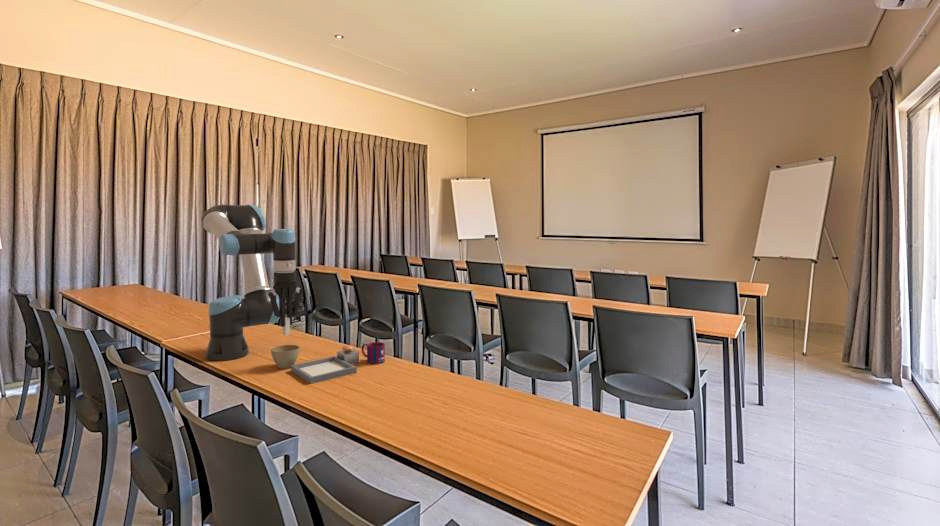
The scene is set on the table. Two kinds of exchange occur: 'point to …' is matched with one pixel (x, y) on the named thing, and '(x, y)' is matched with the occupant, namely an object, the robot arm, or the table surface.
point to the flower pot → (285, 355)
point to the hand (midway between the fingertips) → (286, 334)
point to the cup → (375, 352)
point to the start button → (347, 348)
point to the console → (349, 356)
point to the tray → (323, 369)
